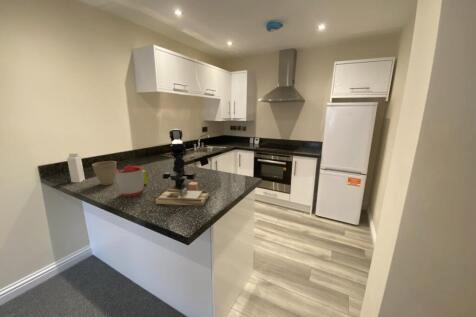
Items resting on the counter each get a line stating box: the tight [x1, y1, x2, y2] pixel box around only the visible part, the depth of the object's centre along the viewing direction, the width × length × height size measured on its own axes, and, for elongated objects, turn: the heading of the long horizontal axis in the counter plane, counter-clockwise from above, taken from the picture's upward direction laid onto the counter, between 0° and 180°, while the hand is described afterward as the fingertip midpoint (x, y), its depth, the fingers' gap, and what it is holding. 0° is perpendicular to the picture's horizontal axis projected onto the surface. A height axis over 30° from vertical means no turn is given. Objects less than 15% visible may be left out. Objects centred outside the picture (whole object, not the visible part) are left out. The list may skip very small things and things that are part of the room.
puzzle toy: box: [143, 169, 148, 185], centre depth 145 cm, size 10×10×10 cm
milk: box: [66, 153, 85, 183], centre depth 150 cm, size 6×6×22 cm
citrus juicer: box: [115, 164, 145, 198], centre depth 126 cm, size 16×17×20 cm
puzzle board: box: [155, 188, 210, 207], centre depth 118 cm, size 14×28×4 cm, turn 84°
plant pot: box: [91, 160, 117, 186], centre depth 145 cm, size 15×15×16 cm
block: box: [187, 181, 199, 190], centre depth 131 cm, size 5×5×6 cm
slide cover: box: [179, 187, 202, 199], centre depth 117 cm, size 11×11×4 cm
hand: (180, 189), depth 117 cm, fingers closed
